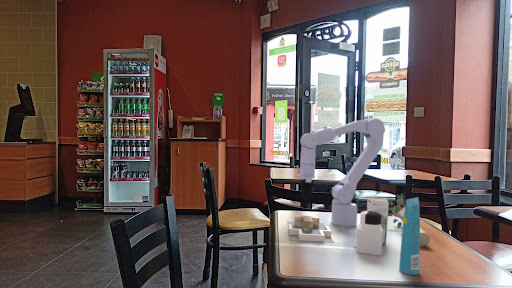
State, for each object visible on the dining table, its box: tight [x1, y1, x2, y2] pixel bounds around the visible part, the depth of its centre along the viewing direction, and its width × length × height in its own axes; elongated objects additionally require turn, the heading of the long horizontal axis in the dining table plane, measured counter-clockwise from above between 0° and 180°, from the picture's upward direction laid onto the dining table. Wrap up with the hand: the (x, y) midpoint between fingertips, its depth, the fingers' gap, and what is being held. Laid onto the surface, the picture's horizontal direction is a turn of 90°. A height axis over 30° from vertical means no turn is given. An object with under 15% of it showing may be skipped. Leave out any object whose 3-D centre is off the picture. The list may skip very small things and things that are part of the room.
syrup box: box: [366, 196, 390, 245], centre depth 121 cm, size 6×6×14 cm
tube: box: [398, 196, 421, 276], centre depth 94 cm, size 7×5×19 cm, turn 140°
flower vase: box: [388, 193, 431, 247], centre depth 135 cm, size 12×12×35 cm
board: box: [286, 221, 335, 245], centre depth 128 cm, size 14×26×1 cm, turn 177°
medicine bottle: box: [355, 210, 383, 257], centre depth 110 cm, size 7×7×12 cm
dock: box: [287, 224, 332, 243], centre depth 122 cm, size 14×13×2 cm
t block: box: [293, 214, 320, 232], centre depth 132 cm, size 9×9×4 cm
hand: (305, 198), depth 141 cm, fingers open, 4 cm apart
